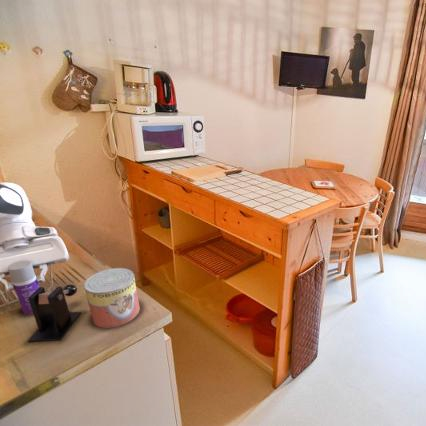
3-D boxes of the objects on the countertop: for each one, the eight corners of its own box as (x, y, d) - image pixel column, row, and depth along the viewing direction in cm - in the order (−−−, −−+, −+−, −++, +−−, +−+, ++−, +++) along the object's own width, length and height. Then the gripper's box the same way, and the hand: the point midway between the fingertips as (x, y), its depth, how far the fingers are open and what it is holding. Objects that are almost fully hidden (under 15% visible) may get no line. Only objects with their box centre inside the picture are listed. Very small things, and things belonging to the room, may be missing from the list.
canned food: (105, 336, 82) (96, 298, 77) (85, 317, 87) (75, 281, 82) (148, 313, 90) (142, 278, 86) (127, 297, 96) (121, 263, 91)
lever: (66, 295, 89) (66, 283, 89) (79, 294, 90) (79, 283, 90) (35, 306, 77) (36, 292, 77) (50, 305, 78) (51, 292, 78)
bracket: (53, 316, 86) (41, 280, 82) (81, 315, 88) (72, 279, 83) (29, 344, 77) (14, 306, 73) (61, 342, 79) (49, 304, 74)
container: (31, 318, 85) (14, 271, 79) (19, 313, 86) (2, 267, 81) (50, 308, 89) (35, 262, 83) (39, 303, 91) (24, 258, 85)
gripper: (-44, 244, 78) (-35, 297, 75) (61, 226, 91) (72, 271, 88) (-35, 252, 83) (-26, 302, 80) (63, 234, 96) (74, 277, 93)
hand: (26, 286), depth 84 cm, fingers closed on container, 5 cm apart
